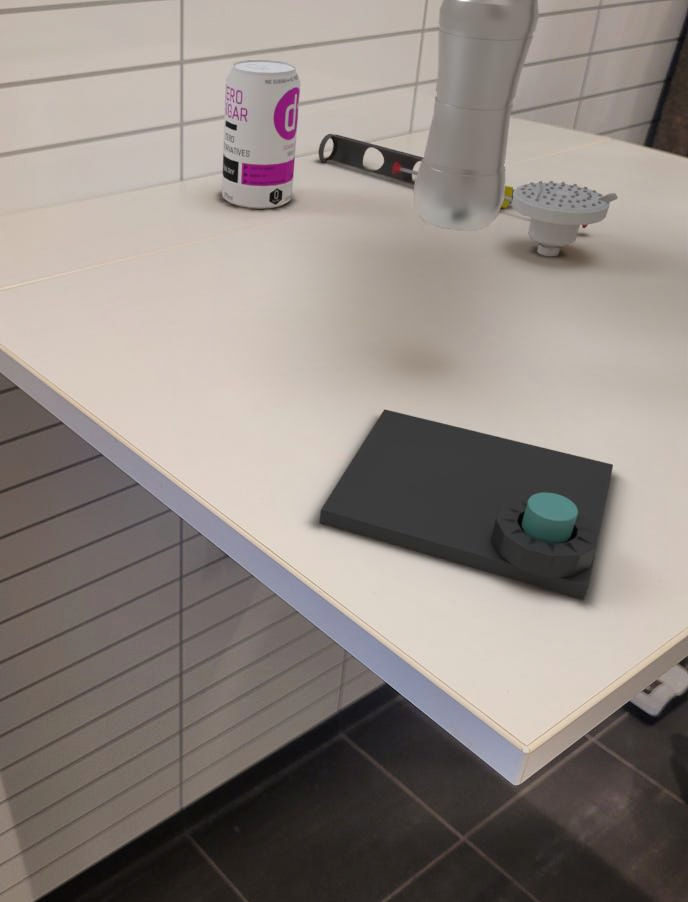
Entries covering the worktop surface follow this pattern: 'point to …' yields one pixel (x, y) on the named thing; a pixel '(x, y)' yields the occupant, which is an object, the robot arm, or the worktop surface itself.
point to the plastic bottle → (472, 110)
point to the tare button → (549, 517)
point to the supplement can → (260, 133)
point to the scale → (470, 500)
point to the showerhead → (558, 212)
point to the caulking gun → (394, 161)
